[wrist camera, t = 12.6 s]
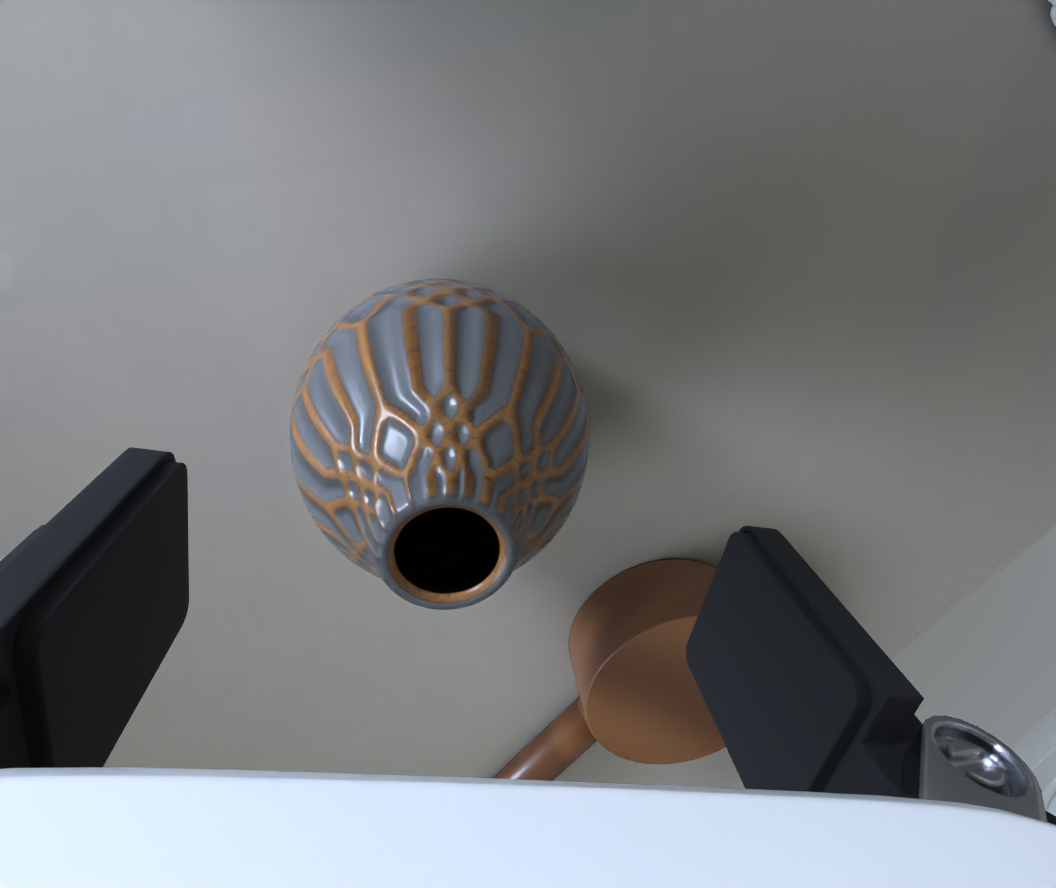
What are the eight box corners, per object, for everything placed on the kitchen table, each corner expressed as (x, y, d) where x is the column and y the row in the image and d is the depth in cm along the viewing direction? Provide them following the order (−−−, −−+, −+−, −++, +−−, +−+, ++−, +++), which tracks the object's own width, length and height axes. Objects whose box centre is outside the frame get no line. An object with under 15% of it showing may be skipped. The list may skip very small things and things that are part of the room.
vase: (603, 340, 18) (727, 488, 11) (480, 514, 20) (508, 745, 13) (393, 204, 16) (354, 266, 8) (279, 417, 18) (160, 626, 10)
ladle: (658, 526, 22) (690, 580, 19) (780, 612, 24) (822, 671, 22) (285, 898, 28) (269, 978, 25) (413, 935, 31) (411, 1011, 28)
